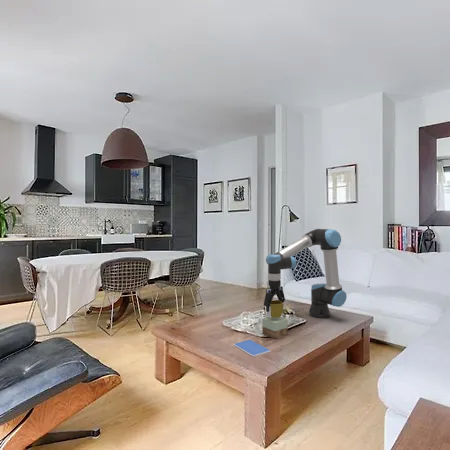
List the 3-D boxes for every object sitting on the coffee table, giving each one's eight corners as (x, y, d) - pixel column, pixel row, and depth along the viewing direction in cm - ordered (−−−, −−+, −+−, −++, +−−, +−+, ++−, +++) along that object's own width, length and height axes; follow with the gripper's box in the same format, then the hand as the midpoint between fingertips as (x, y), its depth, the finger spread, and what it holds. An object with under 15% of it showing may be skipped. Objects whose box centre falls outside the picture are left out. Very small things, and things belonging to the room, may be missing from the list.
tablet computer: (232, 345, 187) (232, 343, 187) (250, 341, 194) (250, 338, 194) (253, 358, 171) (253, 355, 171) (271, 352, 178) (271, 350, 178)
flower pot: (270, 319, 197) (270, 304, 197) (265, 314, 206) (265, 300, 205) (284, 318, 199) (284, 303, 199) (278, 313, 208) (278, 299, 207)
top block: (274, 322, 210) (274, 315, 210) (287, 327, 201) (287, 319, 201) (262, 326, 204) (262, 318, 203) (275, 331, 195) (275, 323, 195)
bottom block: (273, 330, 210) (273, 322, 210) (287, 334, 202) (287, 327, 202) (262, 334, 203) (262, 327, 203) (276, 339, 195) (276, 331, 195)
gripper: (281, 276, 212) (281, 309, 213) (257, 281, 196) (257, 317, 197) (290, 277, 207) (290, 311, 207) (266, 283, 191) (267, 320, 191)
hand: (274, 314), depth 202 cm, fingers closed on flower pot, 11 cm apart
